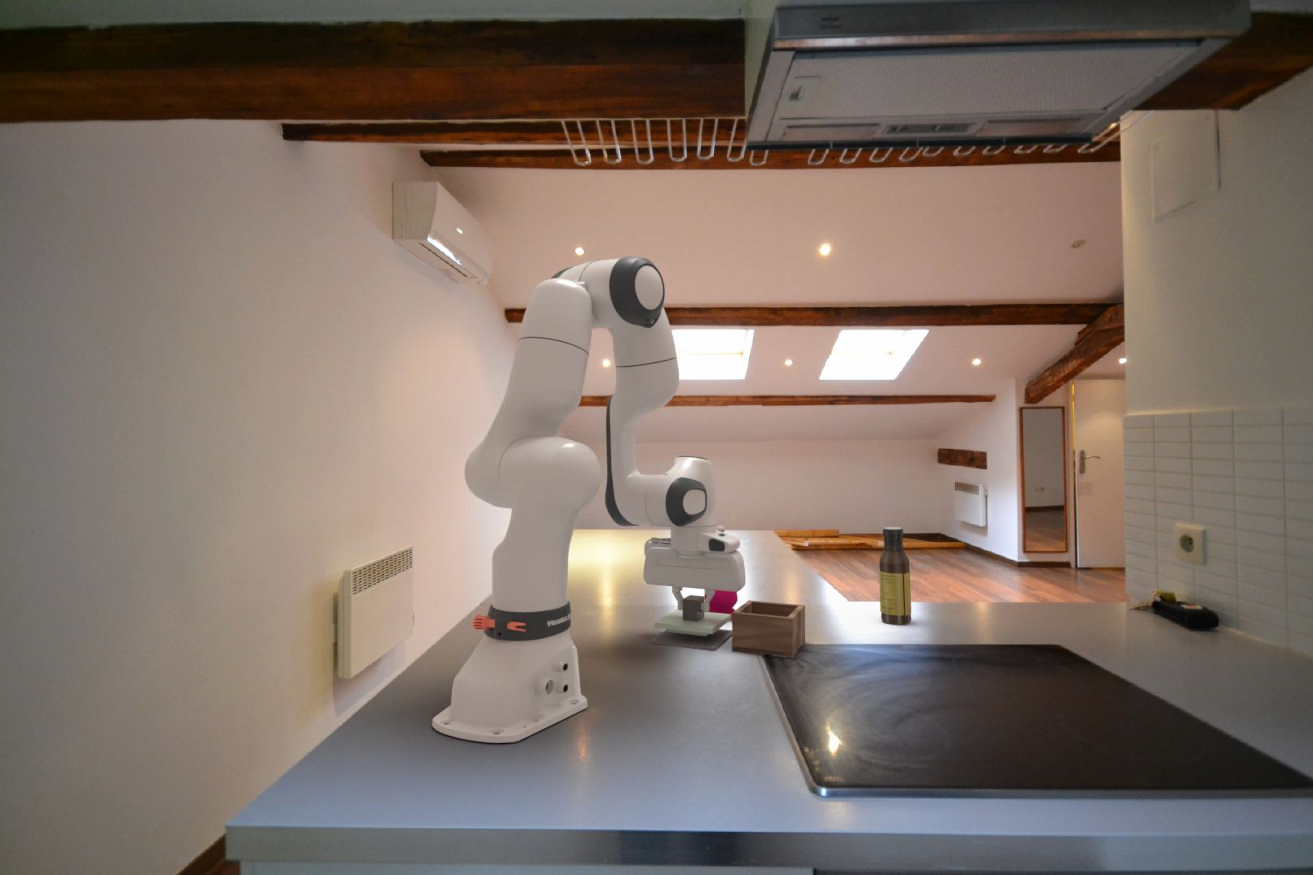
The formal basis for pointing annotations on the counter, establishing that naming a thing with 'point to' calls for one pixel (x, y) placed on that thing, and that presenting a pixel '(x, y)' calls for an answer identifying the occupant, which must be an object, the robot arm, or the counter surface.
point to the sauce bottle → (894, 579)
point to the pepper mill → (722, 597)
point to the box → (768, 628)
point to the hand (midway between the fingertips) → (693, 610)
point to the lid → (692, 619)
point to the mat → (693, 640)
